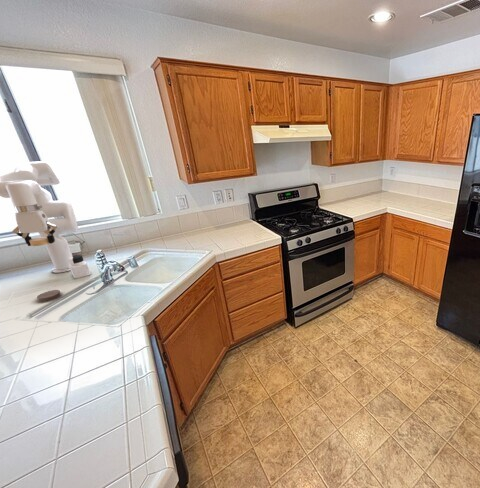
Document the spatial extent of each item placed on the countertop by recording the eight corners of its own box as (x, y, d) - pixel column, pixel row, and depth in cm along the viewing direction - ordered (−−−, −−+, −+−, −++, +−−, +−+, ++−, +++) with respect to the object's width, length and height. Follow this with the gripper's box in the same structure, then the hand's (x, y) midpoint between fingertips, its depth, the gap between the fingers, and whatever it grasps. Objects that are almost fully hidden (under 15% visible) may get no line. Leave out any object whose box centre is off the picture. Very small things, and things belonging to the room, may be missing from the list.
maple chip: (36, 242, 132) (34, 237, 131) (55, 240, 134) (53, 235, 134) (27, 247, 125) (25, 241, 124) (47, 244, 128) (45, 239, 127)
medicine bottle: (88, 271, 160) (81, 253, 156) (90, 274, 156) (84, 256, 152) (72, 275, 155) (65, 256, 151) (75, 279, 151) (67, 259, 146)
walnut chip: (44, 295, 134) (42, 291, 134) (64, 291, 137) (63, 288, 137) (34, 303, 127) (32, 300, 126) (56, 299, 130) (54, 296, 129)
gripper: (55, 205, 130) (67, 239, 136) (8, 209, 124) (23, 244, 130) (46, 208, 124) (60, 243, 130) (-4, 212, 118) (13, 249, 124)
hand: (41, 243), depth 130 cm, fingers closed on maple chip, 7 cm apart
